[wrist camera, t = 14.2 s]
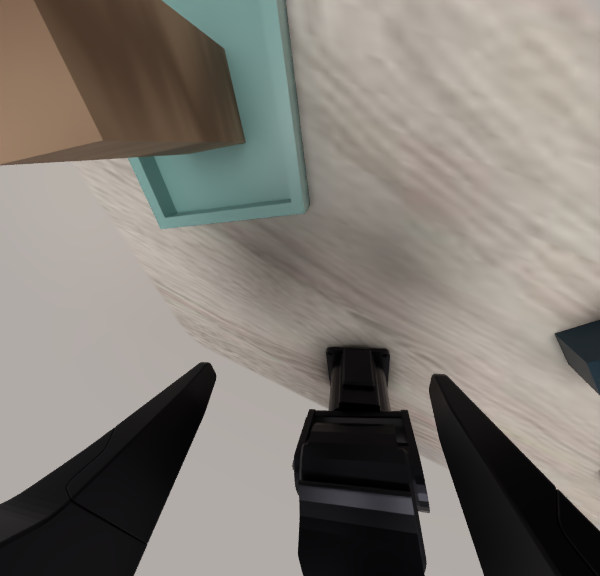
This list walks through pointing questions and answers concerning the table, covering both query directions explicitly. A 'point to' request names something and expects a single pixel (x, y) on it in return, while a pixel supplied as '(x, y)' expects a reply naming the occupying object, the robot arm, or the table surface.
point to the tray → (255, 122)
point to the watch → (583, 351)
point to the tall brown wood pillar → (109, 82)
